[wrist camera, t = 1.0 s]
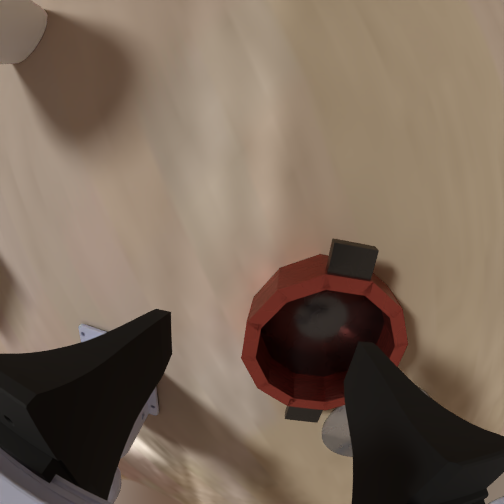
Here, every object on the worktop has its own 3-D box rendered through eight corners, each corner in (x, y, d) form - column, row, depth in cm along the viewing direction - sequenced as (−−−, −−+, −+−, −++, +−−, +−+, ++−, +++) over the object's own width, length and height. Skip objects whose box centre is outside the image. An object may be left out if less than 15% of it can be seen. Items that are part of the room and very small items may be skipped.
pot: (358, 398, 23) (364, 426, 19) (240, 383, 24) (232, 412, 20) (417, 245, 18) (438, 263, 15) (265, 217, 19) (260, 230, 16)
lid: (400, 451, 26) (405, 473, 22) (308, 450, 26) (307, 475, 23) (449, 382, 22) (461, 405, 18) (343, 377, 23) (347, 406, 19)
